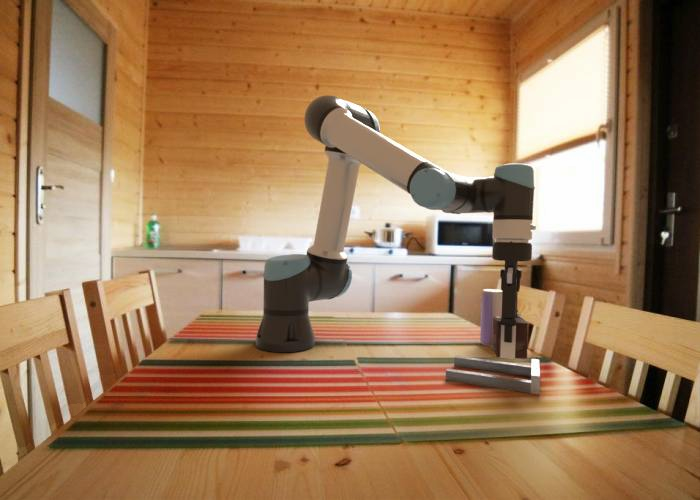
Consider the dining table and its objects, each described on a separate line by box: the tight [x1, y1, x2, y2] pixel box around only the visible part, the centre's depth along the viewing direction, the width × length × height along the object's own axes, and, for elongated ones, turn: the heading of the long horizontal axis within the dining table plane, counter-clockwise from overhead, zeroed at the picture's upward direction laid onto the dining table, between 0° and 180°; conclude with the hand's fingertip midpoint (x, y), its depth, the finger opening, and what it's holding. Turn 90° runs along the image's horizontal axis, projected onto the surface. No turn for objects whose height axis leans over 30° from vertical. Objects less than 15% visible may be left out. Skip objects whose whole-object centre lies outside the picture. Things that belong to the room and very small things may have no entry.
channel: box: [445, 355, 541, 395], centre depth 88 cm, size 18×12×4 cm
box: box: [491, 317, 529, 360], centre depth 87 cm, size 6×6×7 cm
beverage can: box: [479, 288, 502, 348], centre depth 116 cm, size 6×6×15 cm
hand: (508, 353), depth 87 cm, fingers closed on box, 7 cm apart
